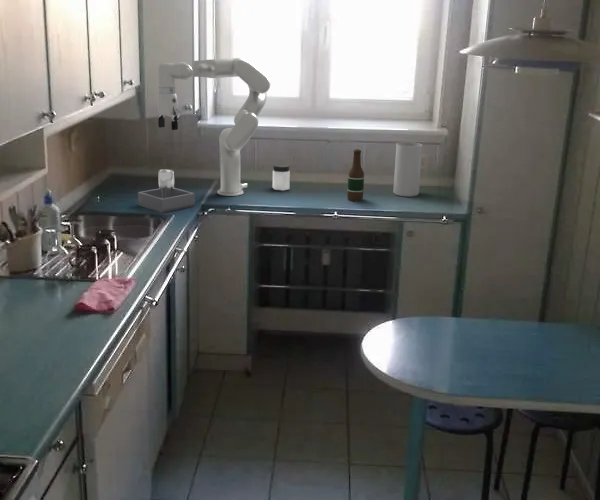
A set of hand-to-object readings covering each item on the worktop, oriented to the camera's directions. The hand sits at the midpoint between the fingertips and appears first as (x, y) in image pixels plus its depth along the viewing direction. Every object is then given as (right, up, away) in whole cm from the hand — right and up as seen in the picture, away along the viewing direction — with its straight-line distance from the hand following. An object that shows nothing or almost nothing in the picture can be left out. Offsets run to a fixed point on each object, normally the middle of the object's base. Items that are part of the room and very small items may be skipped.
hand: (168, 128), depth 351 cm
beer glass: (+1, -35, -7) cm, 36 cm away
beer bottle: (+87, -32, +14) cm, 94 cm away
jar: (+51, -25, +32) cm, 65 cm away
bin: (0, -36, -7) cm, 37 cm away
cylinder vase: (+114, -28, +28) cm, 121 cm away
